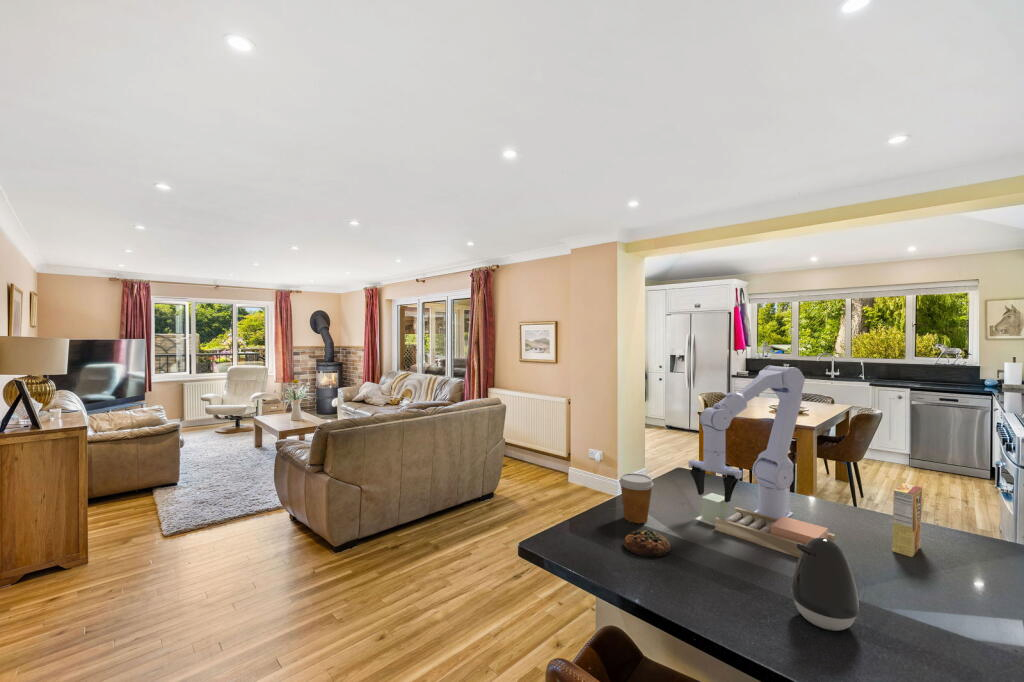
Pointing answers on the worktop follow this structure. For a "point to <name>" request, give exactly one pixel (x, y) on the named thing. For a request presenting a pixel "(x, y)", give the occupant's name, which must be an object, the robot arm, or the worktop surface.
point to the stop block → (714, 507)
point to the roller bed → (756, 530)
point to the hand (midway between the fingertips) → (714, 497)
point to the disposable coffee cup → (636, 496)
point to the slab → (797, 530)
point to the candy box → (907, 519)
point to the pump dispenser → (825, 585)
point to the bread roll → (647, 543)
